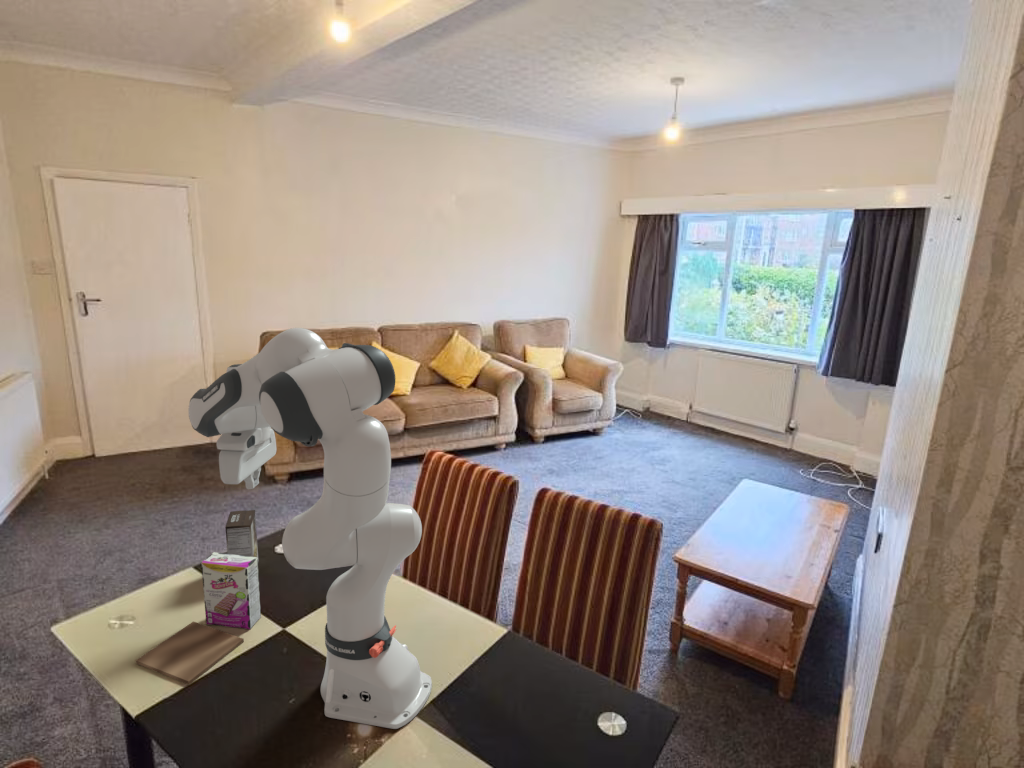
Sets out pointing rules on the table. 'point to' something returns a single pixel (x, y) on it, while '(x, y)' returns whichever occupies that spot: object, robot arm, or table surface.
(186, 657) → the board
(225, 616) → the candy bar box
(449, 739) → the table surface
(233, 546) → the coffee box
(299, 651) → the table surface
